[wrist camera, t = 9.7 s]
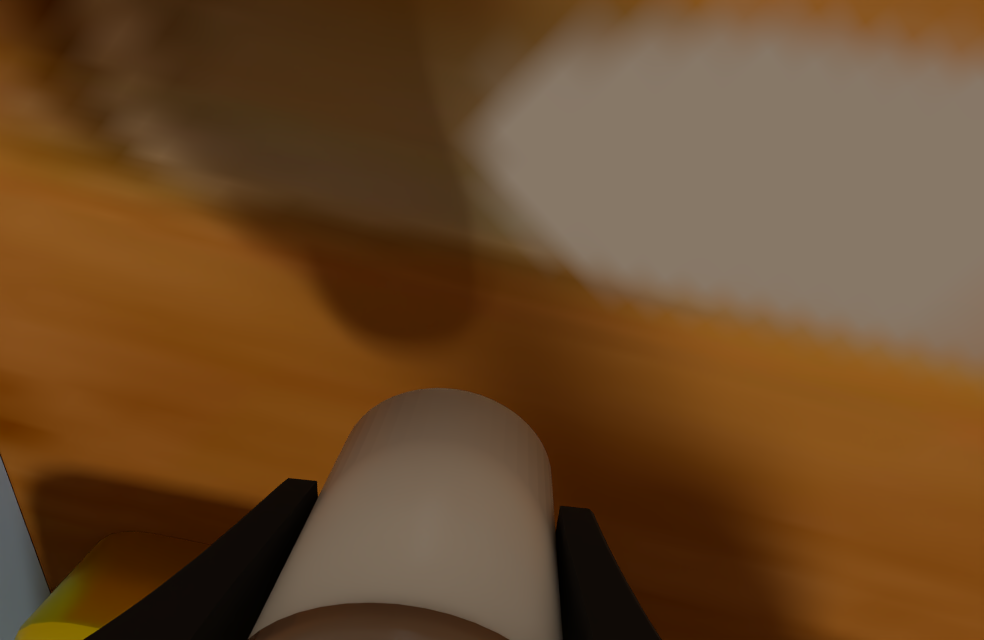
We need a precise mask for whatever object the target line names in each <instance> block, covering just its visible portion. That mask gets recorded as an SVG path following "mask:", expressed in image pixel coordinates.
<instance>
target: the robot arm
mask: <svg viewBox="0 0 984 640" xmlns="http://www.w3.org/2000/svg"><path fill="white" fill-rule="evenodd" d="M317 499H318V492H317V481H311V480H301V479H292V478H288V479H287V480H285V481H284V482H283V483H282V484H280V485H279V486H278V487H277V488H276V489H275V490H274V491H273V492H271V493H270V494H269V495H268V496H267V497H266V498H265V499H264V500H262V501H261V502H260V503H259V504H258V505H257V506H256V507H255V508H254V509H252V510H251V511H250V512H249V513H248V514H247V515H246V516H244V517H243V518H242V519H241V520H240V521H239V522H238V523H237V524H235V525H234V526H233V527H232V528H231V529H230V530H228V531H227V532H226V533H225V534H224V535H222V536H221V537H220V538H219V539H218V540H217V541H215V542H214V543H213V544H212V545H211V546H209V547H208V548H207V549H206V550H205V551H204V552H202V553H201V554H200V555H199V556H197V557H196V558H195V559H194V560H192V561H191V562H190V563H189V564H187V565H186V566H185V567H183V568H182V569H181V570H180V571H178V572H177V573H176V574H175V575H173V576H172V577H171V578H169V579H168V580H167V581H166V582H164V583H163V584H162V585H160V586H159V587H158V588H157V589H155V590H154V591H153V592H151V593H150V594H148V595H147V596H146V597H144V598H143V599H142V600H140V601H139V602H138V603H136V604H135V605H133V606H132V607H131V608H129V609H128V610H126V611H125V612H123V613H122V614H121V615H119V616H118V617H116V618H115V619H113V620H112V621H110V622H109V623H107V624H106V625H104V626H103V627H102V628H100V629H99V630H97V631H96V632H94V633H93V634H91V635H89V636H88V637H86V638H85V639H83V640H247V639H248V638H249V636H250V634H251V632H252V630H253V628H254V626H255V624H256V622H257V620H258V618H259V616H260V614H261V612H262V610H263V608H264V606H265V603H266V601H267V599H268V597H269V595H270V593H271V591H272V589H273V587H274V585H275V583H276V581H277V579H278V577H279V575H280V573H281V571H282V569H283V567H284V565H285V563H286V561H287V559H288V557H289V555H290V553H291V551H292V549H293V547H294V545H295V543H296V541H297V539H298V537H299V535H300V533H301V531H302V529H303V527H304V525H305V523H306V521H307V519H308V517H309V515H310V513H311V511H312V509H313V507H314V505H315V503H316V501H317ZM556 547H557V561H558V575H559V590H560V604H561V619H562V633H563V640H661V638H660V636H659V635H658V633H657V632H656V630H655V629H654V627H653V625H652V624H651V622H650V621H649V619H648V617H647V616H646V614H645V612H644V611H643V609H642V607H641V606H640V604H639V602H638V600H637V599H636V597H635V595H634V593H633V592H632V590H631V588H630V586H629V585H628V583H627V581H626V579H625V578H624V576H623V574H622V572H621V570H620V568H619V566H618V564H617V562H616V560H615V559H614V557H613V555H612V553H611V551H610V549H609V547H608V545H607V542H606V540H605V538H604V536H603V534H602V532H601V530H600V527H599V525H598V523H597V521H596V518H595V516H594V514H593V512H592V511H591V510H590V509H586V508H576V507H566V506H560V510H559V516H558V522H557V527H556Z"/></svg>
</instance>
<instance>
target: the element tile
mask: <svg viewBox="0 0 984 640" xmlns="http://www.w3.org/2000/svg"><path fill="white" fill-rule="evenodd" d="M209 546H211V545H209V544H204V543H199V542H194V541H189V540H183V539H178V538H173V537H168V536H163V535H157V534H152V533H147V532H135V531H127V532H119V533H112V534H110V535H109V536H107V537H105V538H104V539H102V540H100V541H99V542H98V543H97V544H96V546H95V547H94V548H93V549H92V550H91V551H90V552H89V553H88V554H87V555H86V556H85V557H84V559H83V560H82V561H81V562H80V563H79V564H78V565H77V566H76V567H75V568H74V569H73V570H72V572H71V573H70V574H69V575H68V576H67V577H66V578H65V579H64V580H63V581H62V582H61V584H60V585H59V586H58V587H57V588H56V589H55V590H54V591H53V592H52V593H51V594H50V595H49V597H48V598H47V599H46V600H45V601H44V602H43V603H42V604H41V605H40V606H39V607H38V608H37V610H36V611H35V612H34V613H33V614H32V615H31V616H30V617H29V618H28V619H27V620H26V621H25V623H24V624H23V625H22V626H21V627H20V629H19V631H18V633H17V635H16V637H15V639H14V640H83V639H85V638H86V637H88V636H89V635H91V634H93V633H94V632H96V631H97V630H99V629H100V628H102V627H103V626H104V625H106V624H107V623H109V622H110V621H112V620H113V619H115V618H116V617H118V616H119V615H121V614H122V613H123V612H125V611H126V610H128V609H129V608H131V607H132V606H133V605H135V604H136V603H138V602H139V601H140V600H142V599H143V598H144V597H146V596H147V595H148V594H150V593H151V592H153V591H154V590H155V589H157V588H158V587H159V586H160V585H162V584H163V583H164V582H166V581H167V580H168V579H169V578H171V577H172V576H173V575H175V574H176V573H177V572H178V571H180V570H181V569H182V568H183V567H185V566H186V565H187V564H189V563H190V562H191V561H192V560H194V559H195V558H196V557H197V556H199V555H200V554H201V553H202V552H204V551H205V550H206V549H207V548H208V547H209Z"/></svg>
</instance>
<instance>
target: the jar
mask: <svg viewBox="0 0 984 640" xmlns="http://www.w3.org/2000/svg"><path fill="white" fill-rule="evenodd" d="M247 640H563V633H562V619H561V604H560V590H559V575H558V561H557V547H556V532H555V518H554V504H553V489H552V476H551V467H550V463H549V459H548V455H547V453H546V451H545V449H544V446H543V444H542V443H541V441H540V439H539V438H538V436H537V435H536V433H535V432H534V431H533V430H532V429H531V427H530V426H529V425H528V424H527V423H526V422H525V421H524V420H523V419H521V418H520V417H519V416H518V415H517V414H515V413H514V412H513V411H511V410H510V409H508V408H507V407H505V406H503V405H501V404H500V403H498V402H496V401H494V400H492V399H489V398H487V397H484V396H482V395H479V394H475V393H471V392H467V391H462V390H456V389H445V388H431V389H420V390H415V391H410V392H406V393H403V394H400V395H397V396H394V397H392V398H389V399H387V400H385V401H383V402H381V403H380V404H378V405H377V406H375V407H374V408H372V409H371V410H370V411H368V412H367V413H366V414H365V415H364V416H363V417H362V418H361V419H360V420H359V421H358V423H357V424H356V425H355V426H354V428H353V429H352V431H351V433H350V434H349V436H348V438H347V440H346V442H345V444H344V446H343V448H342V450H341V452H340V454H339V456H338V458H337V460H336V462H335V464H334V466H333V468H332V470H331V472H330V474H329V476H328V478H327V480H326V482H325V485H324V487H323V489H322V491H321V493H320V495H319V497H318V499H317V501H316V503H315V505H314V507H313V509H312V511H311V513H310V515H309V517H308V519H307V521H306V523H305V525H304V527H303V529H302V531H301V533H300V535H299V537H298V539H297V541H296V543H295V545H294V547H293V549H292V551H291V553H290V555H289V557H288V559H287V561H286V563H285V565H284V567H283V569H282V571H281V573H280V575H279V577H278V579H277V581H276V583H275V585H274V587H273V589H272V591H271V593H270V595H269V597H268V599H267V601H266V603H265V606H264V608H263V610H262V612H261V614H260V616H259V618H258V620H257V622H256V624H255V626H254V628H253V630H252V632H251V634H250V636H249V638H248V639H247Z"/></svg>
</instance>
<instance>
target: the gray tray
mask: <svg viewBox="0 0 984 640" xmlns="http://www.w3.org/2000/svg"><path fill="white" fill-rule="evenodd" d="M49 595H50V591H49V589H48V586H47V583H46V580H45V578H44V575H43V572H42V569H41V567H40V564H39V561H38V558H37V556H36V553H35V550H34V547H33V545H32V542H31V539H30V536H29V534H28V531H27V528H26V525H25V523H24V520H23V517H22V514H21V512H20V509H19V506H18V503H17V501H16V498H15V495H14V492H13V490H12V487H11V484H10V481H9V479H8V476H7V473H6V470H5V468H4V465H3V462H2V459H1V457H0V640H14V639H15V637H16V635H17V633H18V631H19V629H20V627H21V626H22V625H23V624H24V623H25V621H26V620H27V619H28V618H29V617H30V616H31V615H32V614H33V613H34V612H35V611H36V610H37V608H38V607H39V606H40V605H41V604H42V603H43V602H44V601H45V600H46V599H47V598H48V597H49Z"/></svg>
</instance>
